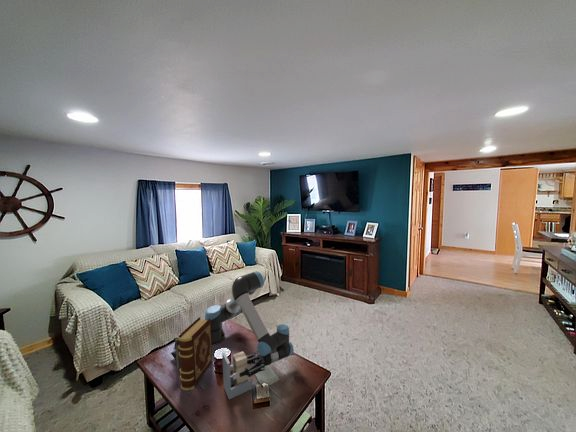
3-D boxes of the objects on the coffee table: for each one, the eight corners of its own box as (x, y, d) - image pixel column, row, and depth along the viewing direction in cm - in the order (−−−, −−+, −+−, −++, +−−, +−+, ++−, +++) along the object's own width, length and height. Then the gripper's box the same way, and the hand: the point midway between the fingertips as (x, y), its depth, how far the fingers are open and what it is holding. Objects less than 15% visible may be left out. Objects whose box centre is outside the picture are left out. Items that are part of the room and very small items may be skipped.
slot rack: (223, 387, 130) (222, 353, 128) (246, 377, 137) (245, 344, 135) (229, 399, 122) (227, 363, 120) (252, 388, 129) (251, 354, 127)
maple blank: (233, 385, 131) (232, 355, 129) (243, 380, 134) (243, 351, 133) (237, 392, 126) (236, 361, 124) (247, 387, 129) (247, 357, 127)
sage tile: (252, 370, 142) (252, 369, 142) (266, 364, 147) (266, 363, 147) (262, 387, 129) (262, 386, 129) (278, 380, 134) (278, 378, 134)
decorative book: (191, 391, 127) (188, 339, 124) (178, 389, 129) (175, 338, 126) (212, 362, 149) (210, 317, 146) (201, 360, 151) (199, 316, 148)
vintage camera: (185, 352, 160) (182, 324, 158) (194, 362, 149) (192, 332, 147) (170, 359, 153) (167, 330, 151) (178, 371, 142) (176, 340, 140)
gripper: (277, 372, 131) (237, 391, 119) (262, 353, 147) (226, 368, 135) (276, 360, 130) (236, 377, 118) (262, 342, 146) (225, 355, 134)
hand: (231, 372), depth 126 cm, fingers closed on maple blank, 6 cm apart
